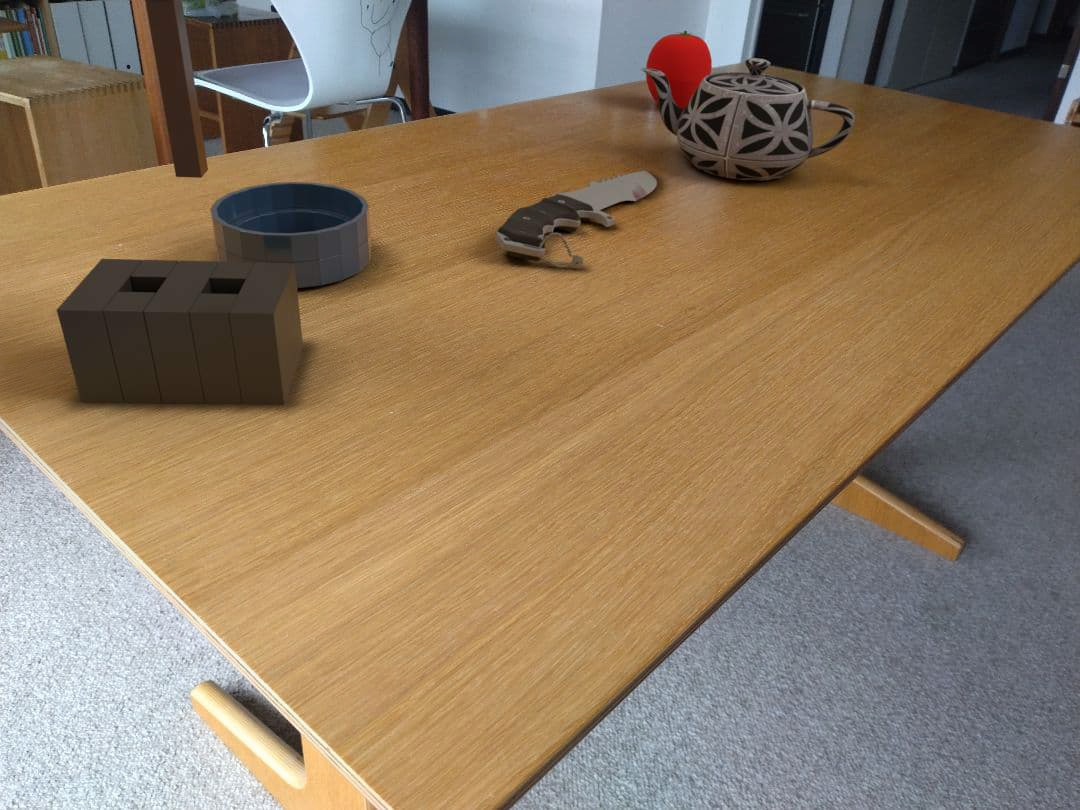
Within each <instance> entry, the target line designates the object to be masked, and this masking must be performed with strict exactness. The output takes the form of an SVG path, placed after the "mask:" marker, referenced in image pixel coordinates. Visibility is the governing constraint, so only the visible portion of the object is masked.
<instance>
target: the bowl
mask: <svg viewBox="0 0 1080 810" xmlns="http://www.w3.org/2000/svg"><path fill="white" fill-rule="evenodd" d="M209 210H210V217H211V224H212V231H213V236H214V238H213V239H214V243H215V249H216V257H217V262H220V261H222V262H254V263H255V262H263V263H294V264H295V273H296V282H297V289H305V288H314V287H320V286H324V285H329V284H332V283H336V282H340V281H343V280H345V279H348V278H349V277H352V276H354V275H357V274H359V273H360V272H361V271H362V270H364V268H365V267H366V266H368V265H369V264H370V261H371V258H372V239H371V220H370V204H369V203H368V201H367V200H366V198H365V197H364V196H363V195H361V194H359V193H358V192H355V191H354V190H352V189H348V188H345V187H341V186H338V185H335V184H334V185H333V184H328V183H327V184H326V183H321V182H309V181H308V182H307V181H284V182H269V183H262V184H257V185H251V186H247V187H243V188H241V189H237V190H235V191H234V190H233V191H231V192H229V193H226V194H224V196H221V197H220V198H218V199H216V200H215V201H214V203H213V204H212V205H211V207H210V209H209Z"/></svg>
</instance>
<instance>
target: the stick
mask: <svg viewBox="0 0 1080 810" xmlns="http://www.w3.org/2000/svg"><path fill="white" fill-rule="evenodd" d="M144 3H145V8H146V14H147V19H148V24H149V25H148V26H149V31H150V36H151V43H152V47H153V53H154V59H155V64H156V71H157V77H158V81H159V87H160V93H161V99H162V104H163V111H164V115H165V122H166V127H167V134H168V139H169V145H170V151H171V156H172V162H173V167H174V172H175V177H176V178H197V179H200V178H203V177H204V176H205V174H206V173H207V172H208V171H209V166H208V161H207V159H208V158H207V155H206V154H207V153H206V148H205V147H206V146H205V141H204V134H203V127H202V121H201V114H200V108H199V103H198V95H197V90H196V89H197V88H196V82H195V77H194V69H193V63H192V56H191V50H190V43H189V37H188V31H187V24H186V20H185V19H186V18H185V12H184V5H183V0H166V1H162V0H144Z"/></svg>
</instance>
